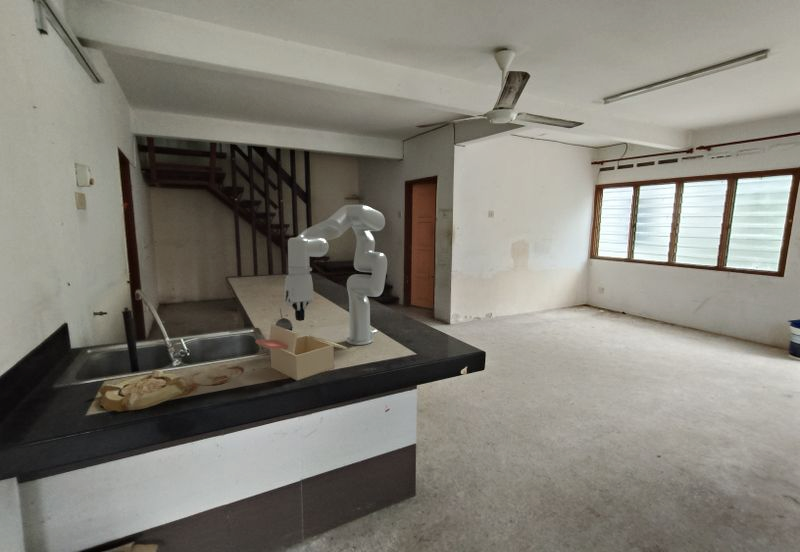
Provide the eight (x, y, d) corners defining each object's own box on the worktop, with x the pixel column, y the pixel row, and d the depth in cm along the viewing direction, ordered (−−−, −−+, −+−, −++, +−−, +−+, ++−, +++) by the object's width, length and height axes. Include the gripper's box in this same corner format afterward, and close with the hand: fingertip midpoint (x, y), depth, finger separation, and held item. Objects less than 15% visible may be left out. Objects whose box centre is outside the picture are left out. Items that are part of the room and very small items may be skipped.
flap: (273, 324, 142) (253, 324, 136) (297, 333, 130) (277, 333, 125) (270, 343, 142) (250, 343, 136) (294, 353, 130) (274, 354, 125)
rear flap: (347, 347, 148) (346, 349, 148) (322, 338, 159) (321, 340, 159) (333, 344, 143) (333, 346, 143) (308, 335, 154) (308, 337, 154)
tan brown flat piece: (185, 374, 137) (184, 361, 137) (189, 399, 117) (188, 384, 117) (103, 389, 125) (101, 374, 124) (92, 420, 105) (90, 403, 104)
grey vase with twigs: (288, 358, 153) (286, 310, 151) (272, 357, 155) (270, 309, 152) (296, 352, 160) (295, 306, 158) (281, 351, 162) (279, 305, 159)
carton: (307, 356, 155) (306, 335, 154) (333, 368, 143) (333, 345, 142) (271, 367, 143) (270, 344, 142) (297, 380, 131) (296, 355, 130)
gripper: (310, 269, 146) (311, 315, 148) (275, 271, 135) (276, 321, 137) (322, 270, 141) (322, 318, 143) (286, 273, 130) (287, 325, 132)
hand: (300, 319), depth 140 cm, fingers closed
